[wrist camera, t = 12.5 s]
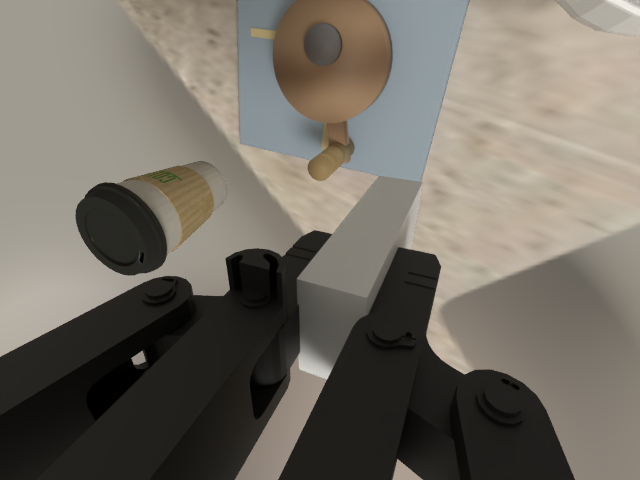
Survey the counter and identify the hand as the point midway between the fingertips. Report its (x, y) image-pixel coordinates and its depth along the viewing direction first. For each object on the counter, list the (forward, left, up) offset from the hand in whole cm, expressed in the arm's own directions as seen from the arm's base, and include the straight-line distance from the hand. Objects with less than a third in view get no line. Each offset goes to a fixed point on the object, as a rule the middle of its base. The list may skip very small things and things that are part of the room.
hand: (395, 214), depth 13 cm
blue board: (+10, -3, -24) cm, 26 cm away
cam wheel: (+10, -1, -22) cm, 24 cm away
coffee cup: (+26, +14, -24) cm, 39 cm away
